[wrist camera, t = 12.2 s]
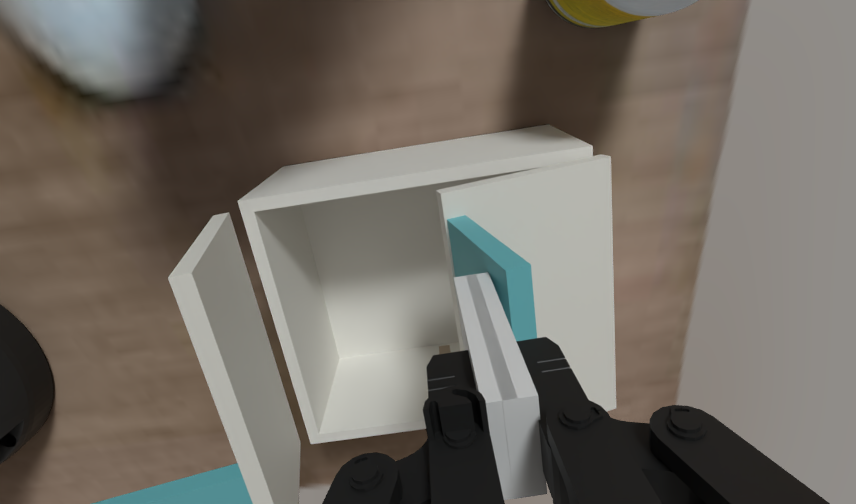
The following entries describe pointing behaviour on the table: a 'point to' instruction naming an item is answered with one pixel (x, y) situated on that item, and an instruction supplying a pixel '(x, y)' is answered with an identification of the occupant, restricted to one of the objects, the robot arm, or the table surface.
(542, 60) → the table surface
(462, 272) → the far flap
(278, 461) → the flap
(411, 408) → the carton
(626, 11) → the pill bottle
